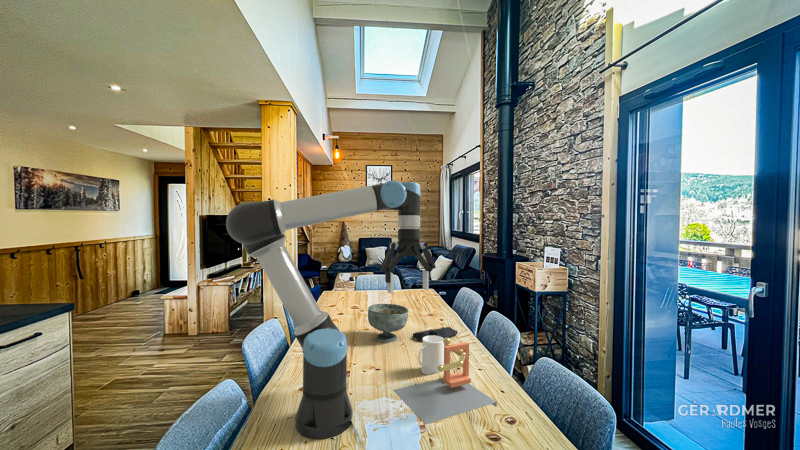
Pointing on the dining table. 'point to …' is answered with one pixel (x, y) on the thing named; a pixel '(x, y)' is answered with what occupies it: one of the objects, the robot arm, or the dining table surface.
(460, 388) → the board
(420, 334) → the dark slate chunk
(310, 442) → the dining table surface
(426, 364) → the mug
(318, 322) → the robot arm
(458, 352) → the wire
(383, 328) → the bowl
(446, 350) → the orange rectangular frame
